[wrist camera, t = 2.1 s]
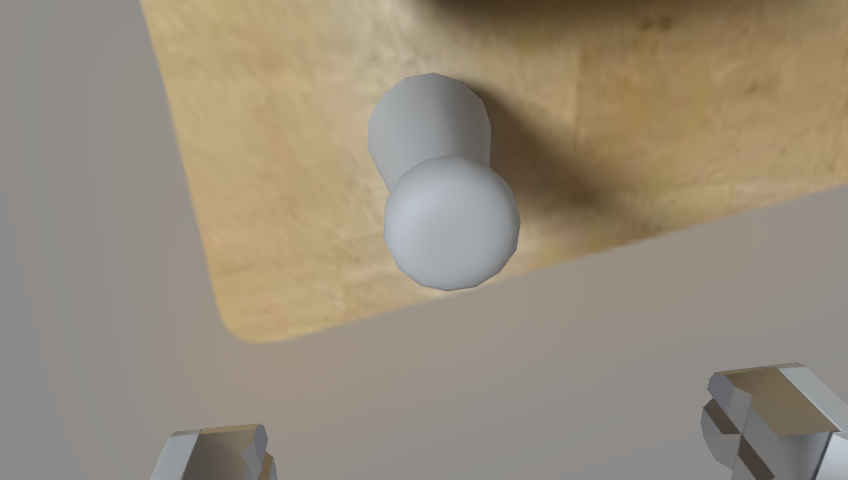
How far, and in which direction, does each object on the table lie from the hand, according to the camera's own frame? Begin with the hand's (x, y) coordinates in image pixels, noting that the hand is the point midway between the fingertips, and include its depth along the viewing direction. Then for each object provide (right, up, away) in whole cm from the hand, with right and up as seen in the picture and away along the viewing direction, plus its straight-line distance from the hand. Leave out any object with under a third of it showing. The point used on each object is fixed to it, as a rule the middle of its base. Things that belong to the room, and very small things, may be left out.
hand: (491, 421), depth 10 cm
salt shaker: (-1, +9, +18) cm, 20 cm away
